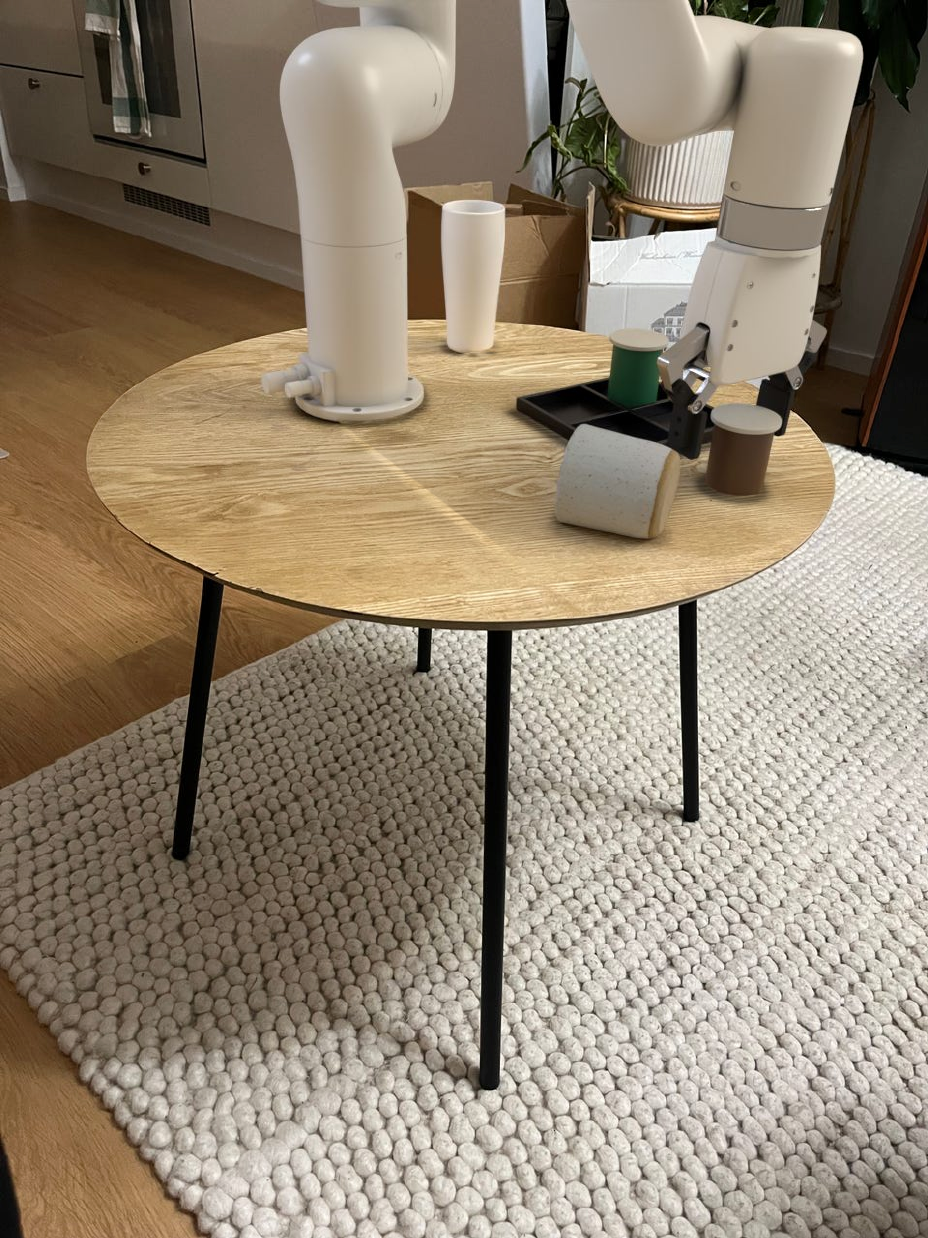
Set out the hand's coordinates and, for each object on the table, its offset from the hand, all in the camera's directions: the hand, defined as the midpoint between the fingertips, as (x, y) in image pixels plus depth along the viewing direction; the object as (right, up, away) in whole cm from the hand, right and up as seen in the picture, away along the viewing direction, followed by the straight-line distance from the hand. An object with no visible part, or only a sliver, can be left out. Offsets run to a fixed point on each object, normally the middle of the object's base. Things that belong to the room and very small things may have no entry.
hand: (726, 441), depth 82 cm
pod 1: (-5, +7, +16) cm, 18 cm away
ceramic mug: (-10, -7, -3) cm, 12 cm away
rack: (-6, +4, +12) cm, 14 cm away
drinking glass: (-21, +16, +30) cm, 40 cm away
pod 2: (+1, -4, +2) cm, 4 cm away
